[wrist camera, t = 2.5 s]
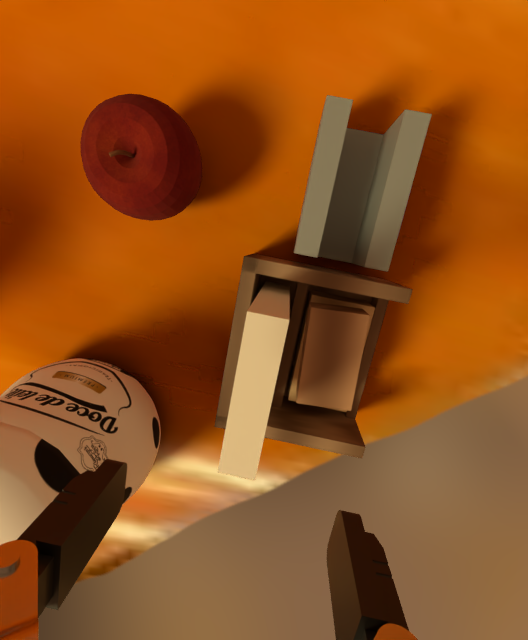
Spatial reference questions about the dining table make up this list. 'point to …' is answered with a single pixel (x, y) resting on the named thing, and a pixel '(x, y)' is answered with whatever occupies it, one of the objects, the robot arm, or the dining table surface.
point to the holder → (359, 187)
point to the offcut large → (313, 297)
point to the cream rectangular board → (255, 380)
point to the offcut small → (331, 355)
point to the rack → (288, 416)
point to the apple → (141, 157)
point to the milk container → (70, 434)
